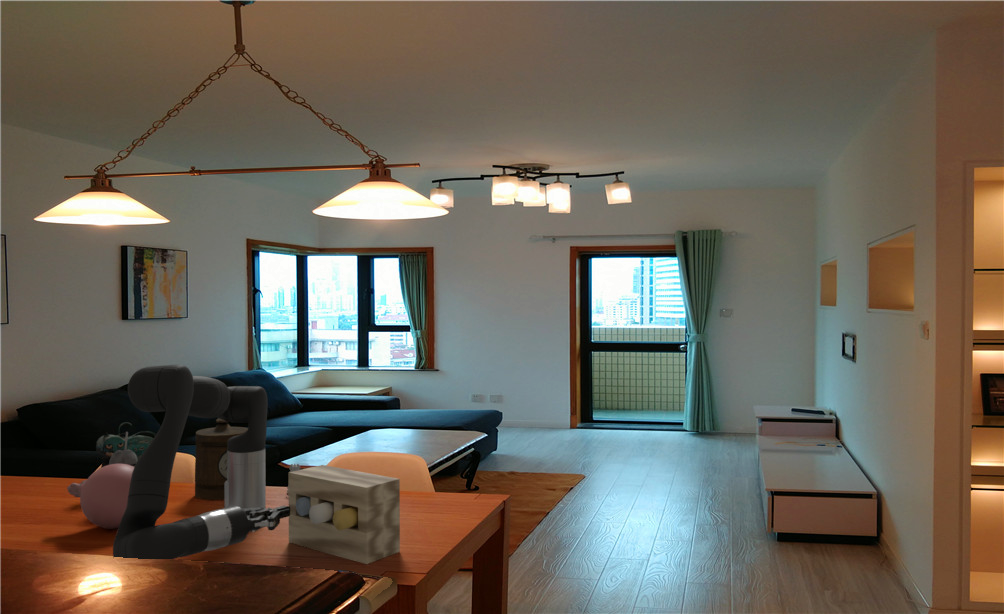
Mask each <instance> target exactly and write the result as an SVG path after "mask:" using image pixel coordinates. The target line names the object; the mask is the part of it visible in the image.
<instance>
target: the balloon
mask: <svg viewBox="0 0 1004 614" xmlns="http://www.w3.org/2000/svg"><path fill="white" fill-rule="evenodd" d="M133 470H134V467H133V466H131V465H127V464H111V465H107V466H104V467H102V468H101V467H100V468H98V469H97V470H95V471H94V472H92V473H91V474H90V476H88V478H87V479H85V480H82V481H81V482H80V483H76V482H72V483H70V485H68V486H67V488H66V490H67V493H69V494H70V495H71V496H73V497H74V498H79V502H80V508H81V511H82V514H84V516H85V518H86V519H88V521H89V522H91V523H92V524H94V525H95V526H97V527H99V528H103V529H109V530H115V529H118V528H119V525H120V522H121V519H122V517H123V515H124V512H125V510H126V507H127V501H128V494H129V488H130V482H131V476H132V473H133Z"/></svg>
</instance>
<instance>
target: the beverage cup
mask: <svg viewBox="0 0 1004 614" xmlns="http://www.w3.org/2000/svg"><path fill="white" fill-rule="evenodd" d="M125 437H126V438H125V448H124V449H120V450H118V451H116V452H115V453H113V455H112V456H111V458H110V461H109V465H111V464H127V465H131V466H133V467H135V465H136V463H137V461H138V459H137V456H136V454H135V453H134V452H133V451H131V450H129V449H127V439H128V437H129V432H128V431H126V432H125Z"/></svg>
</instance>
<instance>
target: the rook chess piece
mask: <svg viewBox="0 0 1004 614" xmlns="http://www.w3.org/2000/svg"><path fill="white" fill-rule="evenodd" d="M288 469H289V470H290V471H289V472H293V471H297V470H301V469H302V467H301V466H300V463H291V464H289V467H288ZM286 489H287V490H286V492H287V494H289V484H288V486H287V488H286Z"/></svg>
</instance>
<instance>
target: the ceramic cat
mask: <svg viewBox="0 0 1004 614" xmlns="http://www.w3.org/2000/svg"><path fill="white" fill-rule="evenodd" d="M125 424H128V425H129V426H130V427H132V423H130V422H128V421H127V422H126V421H125V422H122V423H121V424H120V425H119V426H118V434H116V435H115V434H109V433H108V432H105V433H104V435H102V436H100V437H99V438H98V439H97V440H96V446H95V451H96V452H97V455H99V457H101V458H102V459H101V464H100V465H101V466H100V468H102V467H104V466H107V465H109V461H110V458H111V456H112V455H113V453H115V452H116V451H118V450H120V449H124V448H125V438H126V436H124V435H126V432H123V433H121V431H120V428H121V427H122V426H123V425H125ZM142 433H144V434H145V433H147V434H152V435H153V436H154V437H155V436H156V434H157V433H155V432H154V431H153V432H152V431H149V430H145V431H144V430H142V431H139V432H137V433H136V432H135V434H132V435H130V436H128V439H127V449H129V450H131V451H133V452H134V453H135V454H136V456H137V459H138V460H139V458H140V457H141V455H142V454H143V452H144V451H145V450H146V448H147V447H148V446H149V444H150V443H151V442H152V440H153V439H154V437H151V436H147V435H139V434H142Z"/></svg>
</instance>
